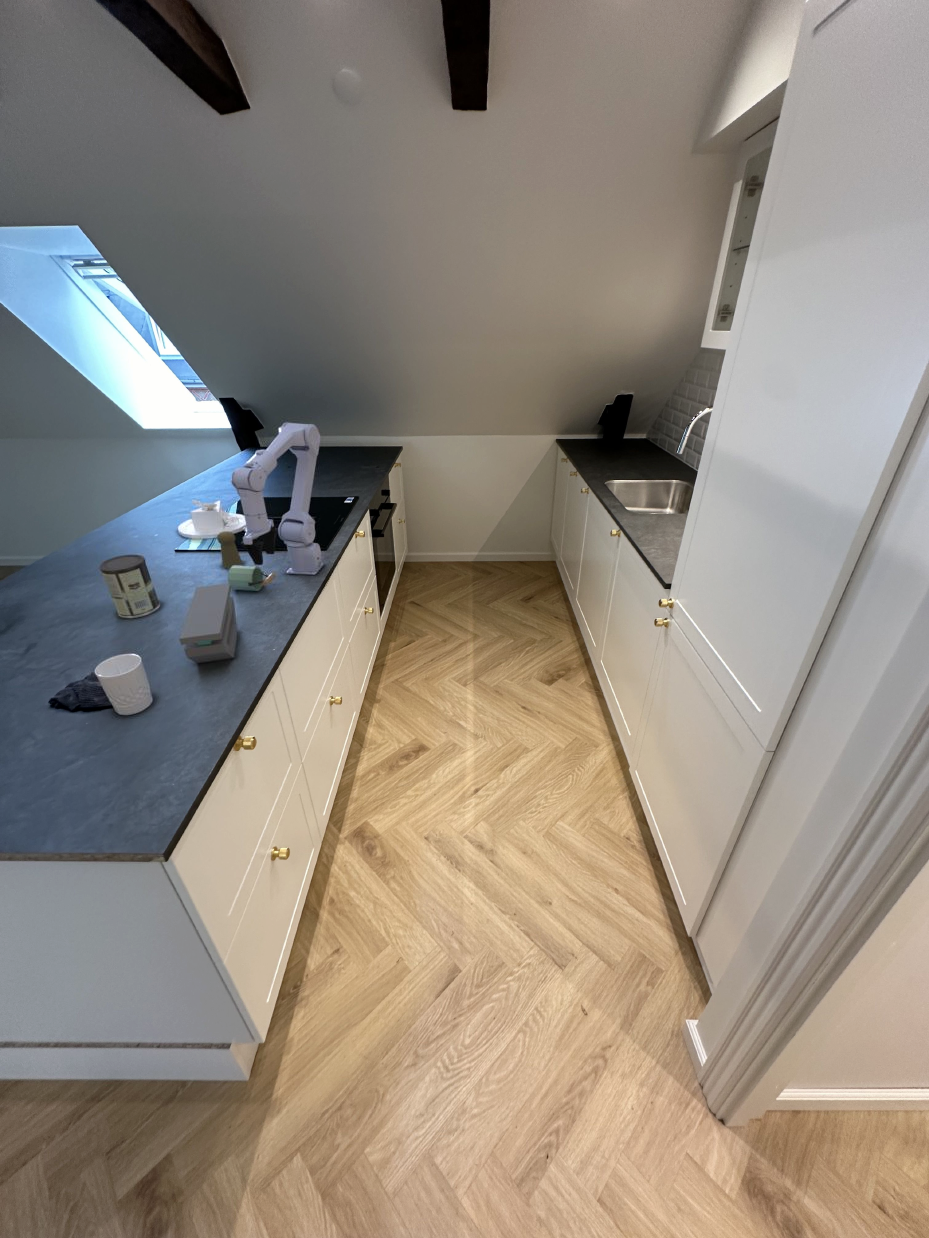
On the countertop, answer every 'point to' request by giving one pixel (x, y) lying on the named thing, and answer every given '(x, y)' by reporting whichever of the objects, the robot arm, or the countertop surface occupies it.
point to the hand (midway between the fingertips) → (264, 559)
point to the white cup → (125, 683)
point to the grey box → (210, 625)
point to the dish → (210, 521)
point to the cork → (228, 550)
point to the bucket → (248, 578)
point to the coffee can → (130, 585)
